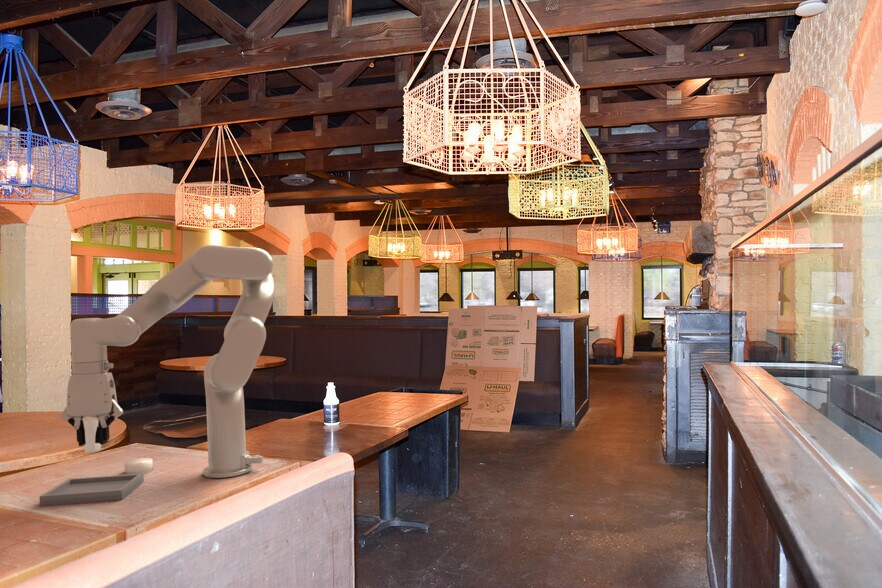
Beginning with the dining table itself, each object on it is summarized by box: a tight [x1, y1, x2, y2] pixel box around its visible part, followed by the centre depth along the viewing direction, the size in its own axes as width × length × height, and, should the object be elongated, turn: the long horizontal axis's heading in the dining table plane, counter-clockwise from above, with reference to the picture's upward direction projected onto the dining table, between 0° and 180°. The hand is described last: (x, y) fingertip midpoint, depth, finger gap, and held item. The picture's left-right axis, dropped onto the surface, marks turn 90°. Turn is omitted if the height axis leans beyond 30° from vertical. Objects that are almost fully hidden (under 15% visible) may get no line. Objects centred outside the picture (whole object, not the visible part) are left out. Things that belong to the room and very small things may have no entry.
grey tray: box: [39, 473, 145, 507], centre depth 150 cm, size 18×14×2 cm
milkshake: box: [82, 416, 102, 454], centre depth 150 cm, size 4×5×10 cm
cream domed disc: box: [123, 457, 154, 475], centre depth 168 cm, size 7×7×3 cm
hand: (93, 443), depth 150 cm, fingers closed on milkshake, 4 cm apart
